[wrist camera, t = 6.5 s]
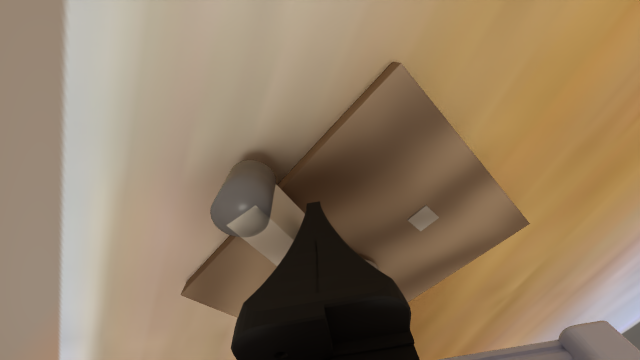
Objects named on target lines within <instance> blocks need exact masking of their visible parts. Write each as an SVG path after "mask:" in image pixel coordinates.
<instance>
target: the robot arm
mask: <svg viewBox="0 0 640 360" xmlns="http://www.w3.org/2000/svg"><path fill="white" fill-rule="evenodd" d="M410 320H411V311H410V307H409V304H408V302H407V300H406V299H405V297H404V295H403V293H402V292H401V290H400V289H399V287H398V286H397V284H396V283H395V282H394V280H393V279H392V278H390V277H389V276H387V275H385V274H384V273H382V272H381V271H379V270H378V269H376V268H375V267H374V266H372V265H371V264H369V263H368V262H367V261H366V260H364V259H363V258H362V257H361V256H360V255H358V254H357V253H356V252H355V251H354V250H353V249H352V248H351V247H350V246H349V245H348V244H347V243H346V242H345V241H344V240H343V239H342V238H341V237H340V235H339V234H338V233H337V232H336V231H335V229H334V228H333V227H332V225H331V224H330V222H329V221H328V219H327V217H326V216H325V214H324V212H323V210H322V208H321V204H320V201H318V202H312V203H307V206H306V213H305V216H304V219H303V221H302V224H301V226H300V229H299V231H298V233H297V235H296V237H295V239H294V241H293V243H292V245H291V246H290V248H289V250H288V251H287V253H286V255H285V256H284V258H283V259H282V260H281V262H280V263H279V265H278V266H277V267H276V269H275V270H274V271H273V272H272V274H271V275H270V276H269V277H268V278H267V279H266V281H265V282H264V283H263V284H262V285H261V286H260V287H259V288H258V289H257V290H256V291H255V292H254V293H253V294H252V295H251V296H250V297H249V298H248V299H247V300H246V301H245V302H244V303H243V305H242V308H241V310H240V313H239V316H238V319H237V322H236V326H235V330H234V335H233V340H232V345H231V350H232V352H233V354H234V356H235V357H236V359H237V360H419V357H418V355H417V352H416V349H415V347H414V339H413V336H412V334H411V331H410ZM439 360H640V351H639V350H638V349H637V348H636V347H635V346H633V344H631V343H630V342H629V341H628V340H627V339H626V338H625V337H624V336H622V335H621V334H620V333H619V332H618V331H617V330H616V329H615V328H614V327H612V326H611V325H610V324H609V323H608V322H607V321H597V322H591V323H585V324H578V325H574V326H570V327H568V328H566V329H564V330H563V331H562V332H561V334H560V336H559V340H554V341H548V342H542V343H536V344H530V345H524V346H518V347H512V348H506V349H500V350H494V351H488V352H482V353H475V354H469V355H463V356H457V357H451V358H445V359H439Z"/></svg>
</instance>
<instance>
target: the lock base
mask: <svg viewBox="0 0 640 360" xmlns="http://www.w3.org/2000/svg"><path fill="white" fill-rule="evenodd" d="M277 186H278V187H279V188H280V189H281V190H282V191H283V192H284V193H285V194H286V195H287V196H288V197H289V198H290V199H291V200H292V201H293V202H294V203H295V204H296V205H297V206H298V207H299V208H300V209H301V210H302V211H303V212H304V214H305V213H306V206H307V203H312V202H318V201H320V204H321V208H322V210H323V212H324V214H325V216H326V217H327V219H328V221H329V222H330V224H331V225H332V227H333V228H334V229H335V231H336V232H337V233H338V234H339V235H340V237H341V238H342V239H343V240H344V241H345V242H346V243H347V244H348V245H349V246H350V247H351V248H352V249H353V250H354V251H355V252H356V253H357V254H358V255H360V256H361V257H362V258H363V259H365V260H369V261H371V262H373V263H375V264H376V265H377V266H378V267H379V269H380V271H381V272H382V273H384V274H385V275H387V276H389V277H390V278H392V279H393V280H394V282H395V283H396V284H397V286H398V287H399V289H400V290H401V292H402V293H403V295H404V297H405V299H406V300H407V302H409V301H411V300H412V299H414V298H415V297H417V296H418V295H420V294H422V293H423V292H425V291H426V290H428V289H429V288H431V287H432V286H434V285H436V284H437V283H439V282H440V281H442V280H443V279H445V278H446V277H448V276H450V275H451V274H453V273H454V272H456V271H457V270H459V269H460V268H462V267H463V266H465V265H467V264H468V263H470V262H471V261H473V260H474V259H476V258H477V257H479V256H481V255H482V254H484V253H485V252H487V251H488V250H490V249H491V248H493V247H495V246H496V245H498V244H499V243H501V242H502V241H504V240H505V239H507V238H509V237H510V236H512V235H513V234H515V233H516V232H518V231H519V230H521V229H522V228H524V227H526V226H527V225H529V224H530V223H529V222H528V221H527V220H526V218H525V217H524V216H523V215H522V213H521V212H520V211H519V210H518V208H517V207H516V206H515V205H514V203H513V202H512V201H511V200H510V198H509V197H508V196H507V195H506V193H505V192H504V191H503V190H502V188H501V187H500V186H499V185H498V183H497V182H496V181H495V180H494V178H493V177H492V176H491V175H490V173H489V172H488V171H487V170H486V168H485V167H484V166H483V165H482V163H481V162H480V161H479V160H478V158H477V157H476V156H475V155H474V153H473V152H472V151H471V150H470V148H469V147H468V146H467V145H466V143H465V142H464V141H463V140H462V138H461V137H460V136H459V135H458V133H457V132H456V131H455V130H454V128H453V127H452V126H451V125H450V123H449V122H448V121H447V120H446V118H445V117H444V116H443V115H442V113H441V112H440V111H439V110H438V108H437V107H436V106H435V105H434V103H433V102H432V101H431V100H430V98H429V97H428V96H427V95H426V93H425V92H424V91H423V90H422V88H421V87H420V86H419V85H418V83H417V82H416V81H415V80H414V78H413V77H412V76H411V75H410V73H409V72H408V71H407V70H406V68H405V67H404V66H403V65H402V63H397V62H392V63H391V64H390V65H389V66H388V68H387V69H386V70H385V71H384V72H383V73H382V74H381V75H380V76H379V77H378V78H377V79H376V80H375V81H374V82H373V84H372V85H371V86H370V87H369V88H368V89H367V90H366V91H365V92H364V93H363V94H362V95H361V96H360V97H359V99H358V100H357V101H356V102H355V103H354V104H353V105H352V106H351V107H350V108H349V109H348V110H347V111H346V112H345V113H344V115H343V116H342V117H341V118H340V119H339V120H338V121H337V122H336V123H335V124H334V125H333V126H332V127H331V128H330V129H329V131H328V132H327V133H326V134H325V135H324V136H323V137H322V138H321V139H320V140H319V141H318V142H317V143H316V144H315V145H314V147H313V148H312V149H311V150H310V151H309V152H308V153H307V154H306V155H305V156H304V157H303V158H302V159H301V160H300V161H299V163H298V164H297V165H296V166H295V167H294V168H293V169H292V170H291V171H290V172H289V173H288V174H287V175H286V176H285V177H284V179H283V180H282V181H281V182H280V183H279V184H278V185H277ZM276 267H277V266H276V265H275V264H274V263H272V262H271V261H270V260H269V259H267V258H266V257H265V256H264V255H262V254H261V253H260V252H259V251H257V250H256V249H255V248H254V247H253V246H251V245H250V244H249V243H248V242H246V241H245V240H244V239H243V238H241V237H235V236H232V235H230V236H229V237H228V238H227V239H226V240H225V242H224V243H223V244H222V245H221V246H220V247H219V248H218V249H217V250H216V251H215V252H214V253H213V254H212V255H211V256H210V258H209V259H208V260H207V261H206V262H205V263H204V264H203V265H202V266H201V267H200V268H199V269H198V270H197V271H196V272H195V274H194V275H193V276H192V277H191V278H190V279H189V280H188V281H187V282H186V284H185V287H184V289H183V291H182V293H181V295H182V296H184V297H187V298H189V299H192V300H194V301H197V302H199V303H202V304H204V305H207V306H209V307H212V308H214V309H217V310H219V311H222V312H224V313H227V314H230V315H232V316H235V317H237V318H238V316H239V313H240V310H241V308H242V305H243V303H244V302H245V301H246V300H247V299H248V298H249V297H250V296H251V295H252V294H253V293H254V292H255V291H256V290H257V289H258V288H259V287H260V286H261V285H262V284H263V283H264V282H265V281H266V279H267V278H268V277H269V276H270V275H271V274H272V272H273V271H274V270H275V269H276Z"/></svg>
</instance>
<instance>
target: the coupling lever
mask: <svg viewBox="0 0 640 360" xmlns="http://www.w3.org/2000/svg"><path fill="white" fill-rule="evenodd" d="M304 216H305V214H304V212H303V211H302V210H301V209H300V208H299V207H298V206H297V205H296V204H295V203H294V202H293V201H292V200H291V199H290V198H289V197H288V196H287V195H286V194H285V193H284V192H283V191H282V190H281V189H280V188H279V187H278V186H277V185H276V178H275V175H274V173H273V171H272V170H271V169H270V168H269V167H268V166H267V165H266V164H264V163H262V162H259V161H255V160H245V161H242V162H239V163H238V164H236V165H235V166H234V167H233V168H232V169H231V171H230V173H229V175H228V177H227V178H226V180H225V182H224V184H223V186H222V187H221V189H220V191H219V193H218V195H217V196H216V198H215V200H214V202H213V204H212V206H211V218H212V220H213V222H214V224H215V225H216V226H217V227H218V228H219V229H220V230H221V231H223V232H225V233H226V234H229V235H232V236H235V237H241V238H243V239H244V240H245V241H246V242H248V243H249V244H250V245H251V246H253V247H254V248H255V249H256V250H257V251H259V252H260V253H261V254H262V255H264V256H265V257H266V258H267V259H269V260H270V261H271V262H272V263H274V264H275V265H276V266H278V265H279V263H280V262H281V260H282V259H283V258H284V256H285V255H286V253H287V251H288V250H289V248H290V246H291V245H292V243H293V241H294V239H295V237H296V235H297V233H298V231H299V229H300V226H301V224H302V221H303V219H304ZM364 260H365V259H364ZM366 261H367V262H368V263H369V264H371V265H372V266H374V267H375V268H376V269H378V270H379V271H380V269H379V267H378V266H377V265H376V264H375V263H373V262H371V261H369V260H366Z"/></svg>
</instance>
